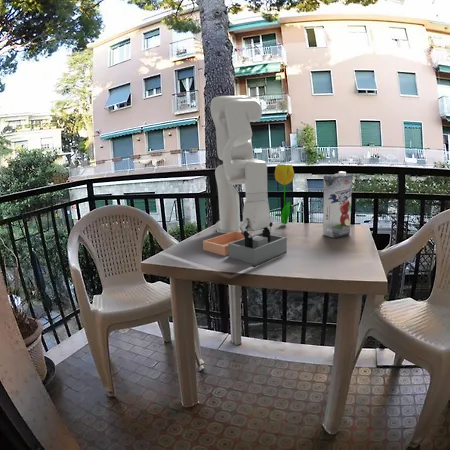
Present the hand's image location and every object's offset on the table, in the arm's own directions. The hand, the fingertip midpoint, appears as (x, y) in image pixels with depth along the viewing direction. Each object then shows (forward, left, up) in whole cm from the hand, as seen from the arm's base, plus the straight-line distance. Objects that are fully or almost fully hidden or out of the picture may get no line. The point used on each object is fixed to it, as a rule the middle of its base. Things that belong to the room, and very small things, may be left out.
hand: (257, 244), depth 114 cm
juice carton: (+9, +41, -5) cm, 42 cm away
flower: (-19, +43, -5) cm, 47 cm away
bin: (0, 0, -4) cm, 4 cm away
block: (0, 0, -4) cm, 4 cm away
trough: (-14, 0, -4) cm, 15 cm away
